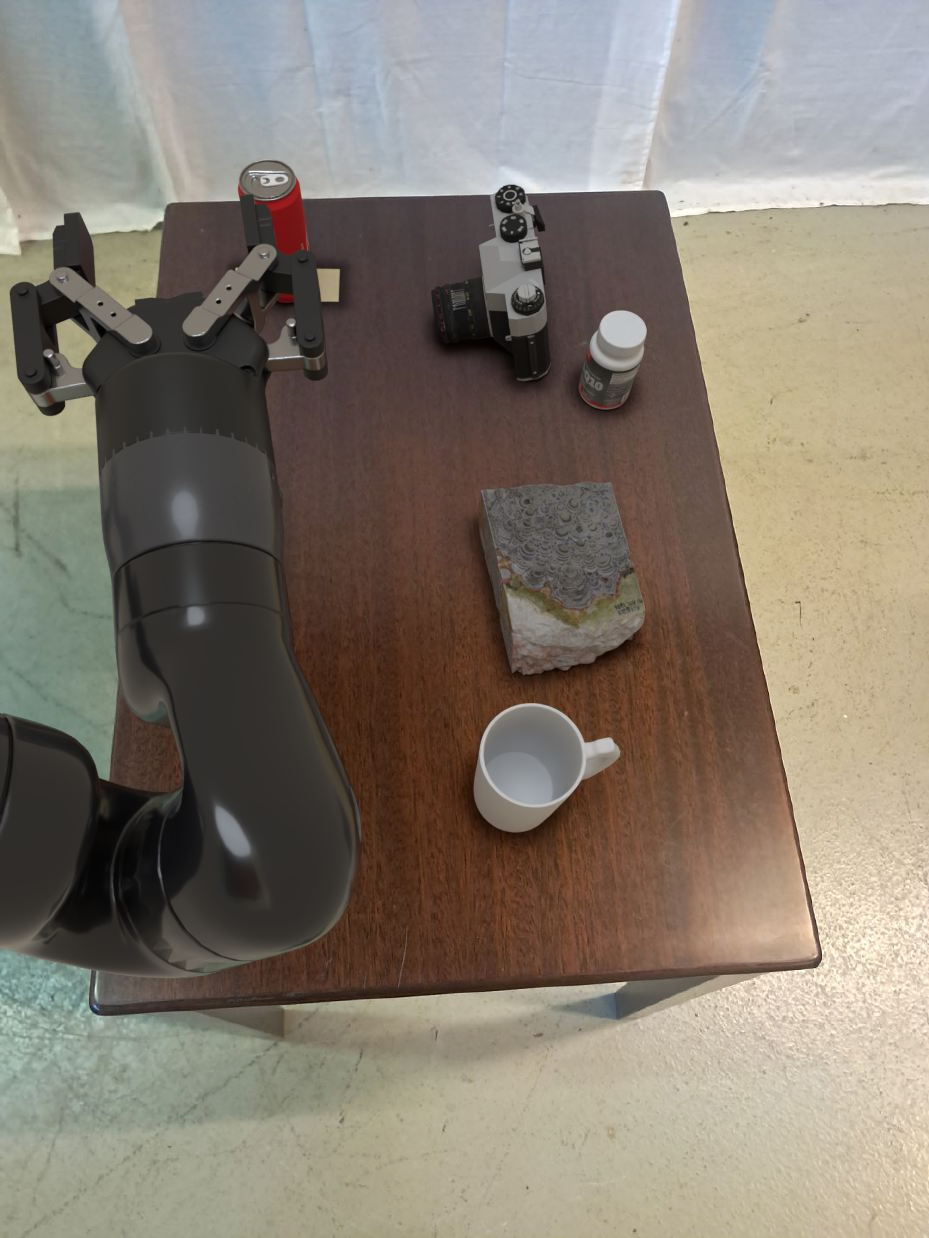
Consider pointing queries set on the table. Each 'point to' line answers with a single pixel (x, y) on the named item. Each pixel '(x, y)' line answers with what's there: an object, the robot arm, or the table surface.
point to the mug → (533, 765)
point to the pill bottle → (613, 360)
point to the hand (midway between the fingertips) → (164, 216)
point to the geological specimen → (559, 573)
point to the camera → (503, 289)
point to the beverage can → (278, 204)
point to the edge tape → (328, 284)
